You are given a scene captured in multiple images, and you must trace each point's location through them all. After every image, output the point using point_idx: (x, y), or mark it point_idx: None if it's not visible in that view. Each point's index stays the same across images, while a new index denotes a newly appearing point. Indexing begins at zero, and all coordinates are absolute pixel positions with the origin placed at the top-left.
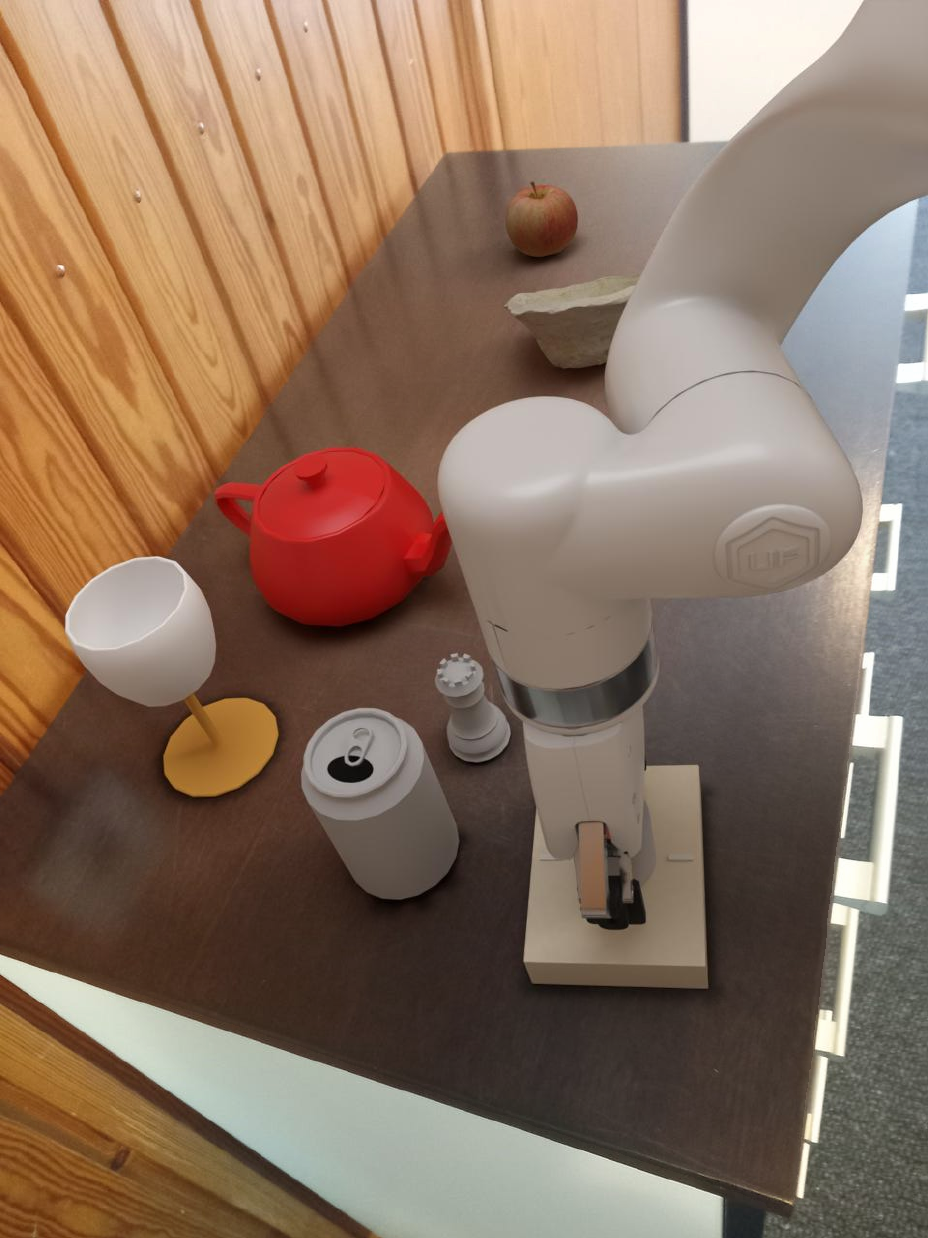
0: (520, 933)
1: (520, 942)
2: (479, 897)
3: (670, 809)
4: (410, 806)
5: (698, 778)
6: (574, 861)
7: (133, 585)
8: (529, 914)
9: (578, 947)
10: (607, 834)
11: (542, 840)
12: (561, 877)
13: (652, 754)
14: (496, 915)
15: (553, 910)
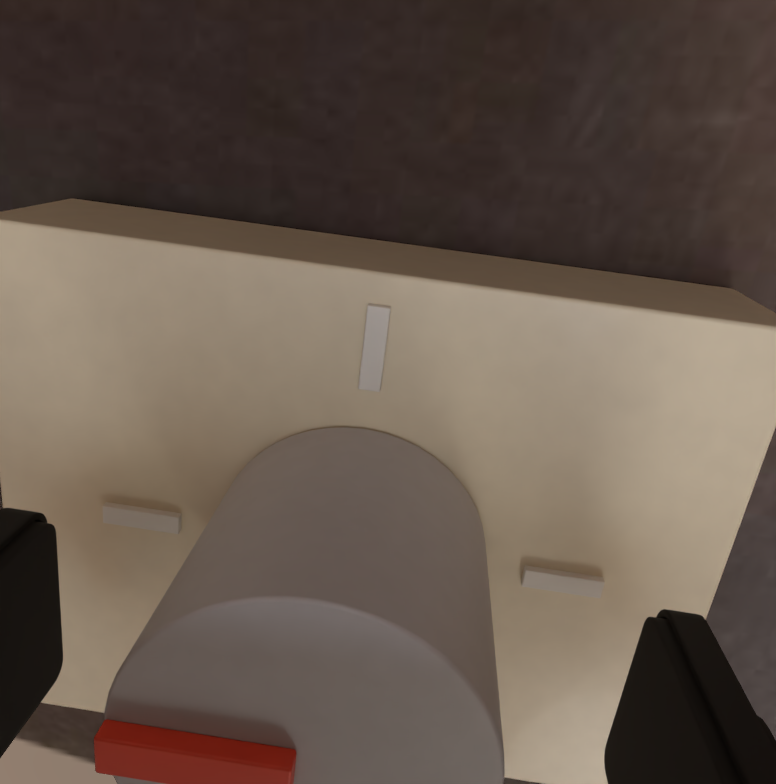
0: (229, 168)
1: (199, 166)
2: (365, 18)
3: (500, 711)
4: None
5: None
6: (284, 470)
7: None
8: (148, 251)
9: (43, 404)
10: (187, 777)
11: (454, 320)
12: (293, 375)
13: (771, 604)
14: (294, 84)
15: (167, 337)
